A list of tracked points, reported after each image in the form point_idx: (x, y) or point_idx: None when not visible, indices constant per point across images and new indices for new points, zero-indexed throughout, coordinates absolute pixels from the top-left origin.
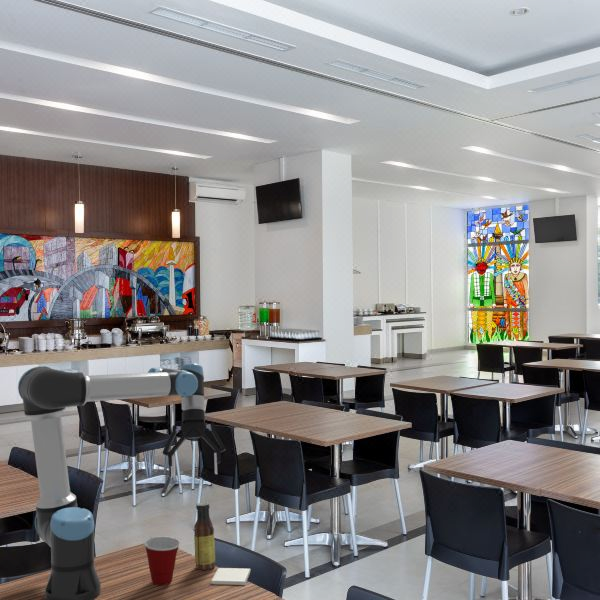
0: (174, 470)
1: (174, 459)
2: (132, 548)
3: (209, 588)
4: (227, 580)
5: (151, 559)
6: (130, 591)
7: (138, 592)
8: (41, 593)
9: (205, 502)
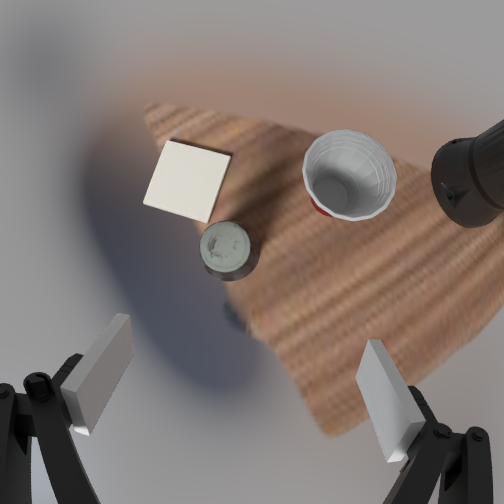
0: (376, 362)
1: (393, 423)
2: None
3: (236, 140)
4: (198, 150)
5: (365, 160)
6: None
7: None
8: None
9: (212, 265)
